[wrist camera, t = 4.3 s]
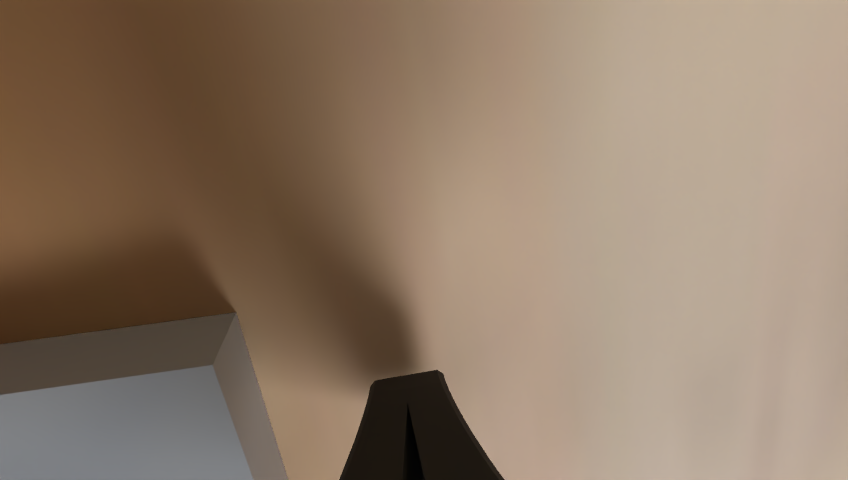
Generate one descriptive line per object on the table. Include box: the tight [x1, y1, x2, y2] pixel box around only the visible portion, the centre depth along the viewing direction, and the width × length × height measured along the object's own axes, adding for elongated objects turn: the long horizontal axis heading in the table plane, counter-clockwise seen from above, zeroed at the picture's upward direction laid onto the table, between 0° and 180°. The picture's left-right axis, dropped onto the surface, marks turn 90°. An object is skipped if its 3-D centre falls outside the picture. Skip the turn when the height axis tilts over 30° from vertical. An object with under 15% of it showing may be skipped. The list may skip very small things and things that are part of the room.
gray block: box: [0, 312, 288, 480], centre depth 10 cm, size 7×5×2 cm
